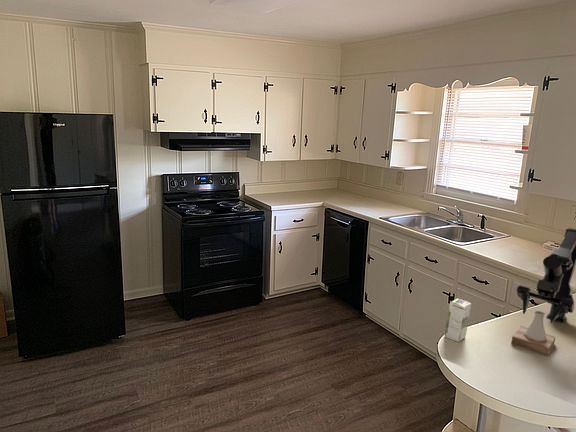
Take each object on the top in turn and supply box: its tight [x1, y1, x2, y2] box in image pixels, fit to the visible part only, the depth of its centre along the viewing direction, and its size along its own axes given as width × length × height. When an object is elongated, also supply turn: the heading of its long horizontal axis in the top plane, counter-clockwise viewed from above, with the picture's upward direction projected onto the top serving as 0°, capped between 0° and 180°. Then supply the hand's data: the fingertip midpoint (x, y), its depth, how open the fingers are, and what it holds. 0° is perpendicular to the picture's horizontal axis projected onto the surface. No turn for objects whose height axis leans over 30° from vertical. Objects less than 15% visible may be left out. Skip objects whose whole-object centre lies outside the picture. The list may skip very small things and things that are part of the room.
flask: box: [524, 310, 547, 342], centre depth 165 cm, size 7×7×10 cm
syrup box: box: [444, 298, 472, 343], centre depth 167 cm, size 6×6×14 cm
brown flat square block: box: [510, 325, 556, 357], centre depth 167 cm, size 12×12×3 cm
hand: (537, 317), depth 164 cm, fingers open, 9 cm apart
